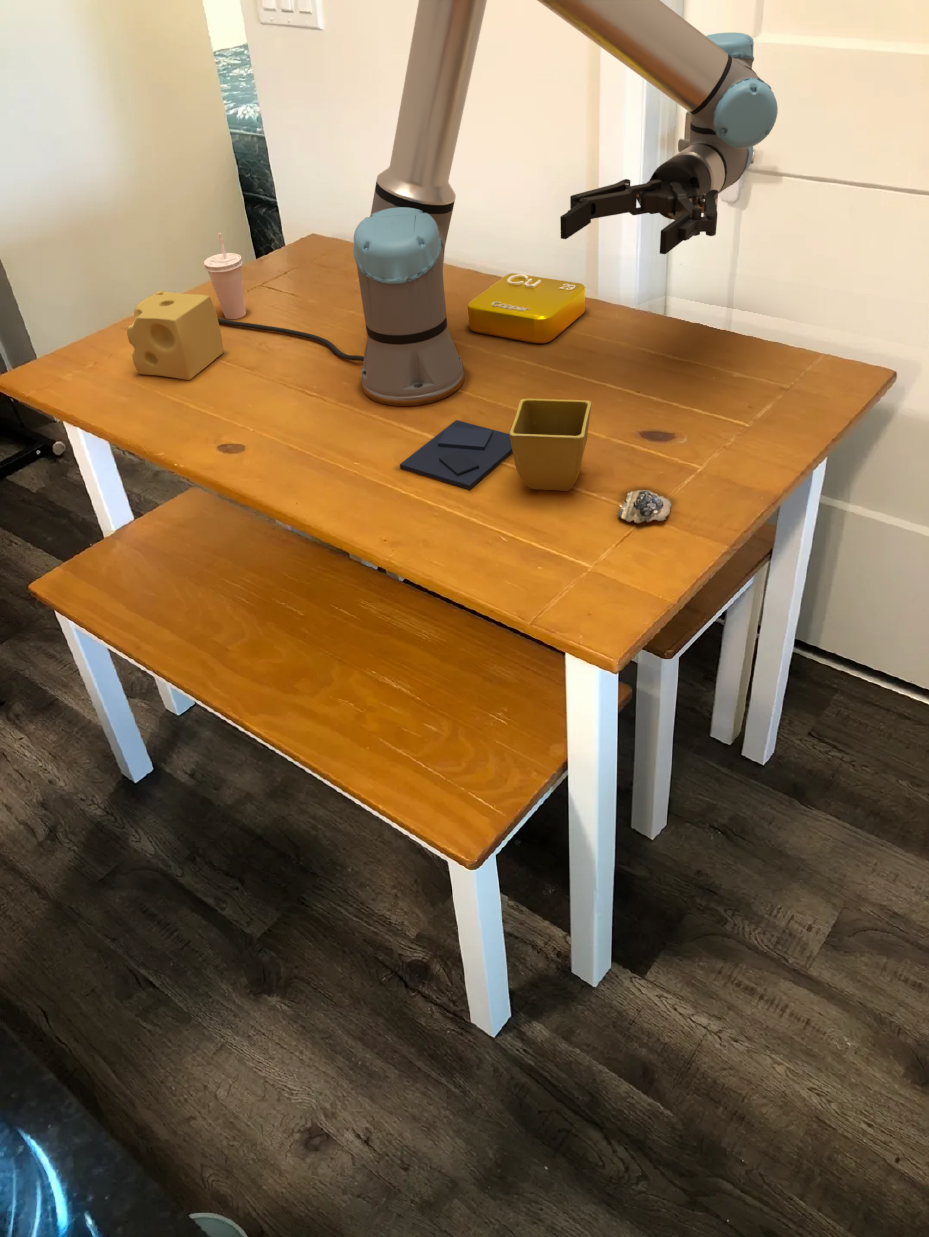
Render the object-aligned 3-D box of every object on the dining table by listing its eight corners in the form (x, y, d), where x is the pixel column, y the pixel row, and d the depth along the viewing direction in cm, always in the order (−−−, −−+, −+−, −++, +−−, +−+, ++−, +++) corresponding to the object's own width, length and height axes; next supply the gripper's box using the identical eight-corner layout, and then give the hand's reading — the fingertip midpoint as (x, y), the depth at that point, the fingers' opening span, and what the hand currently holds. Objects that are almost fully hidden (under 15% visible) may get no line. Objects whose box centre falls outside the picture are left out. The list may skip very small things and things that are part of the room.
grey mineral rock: (620, 530, 114) (620, 516, 113) (609, 492, 120) (609, 479, 119) (678, 525, 114) (679, 511, 113) (664, 487, 120) (665, 474, 119)
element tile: (464, 331, 159) (462, 302, 156) (510, 296, 169) (508, 268, 165) (546, 346, 153) (545, 317, 149) (589, 309, 162) (589, 280, 159)
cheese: (136, 375, 156) (117, 314, 150) (175, 346, 163) (159, 287, 157) (191, 382, 152) (174, 320, 146) (229, 352, 160) (214, 292, 154)
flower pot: (583, 502, 119) (583, 436, 113) (512, 498, 121) (508, 433, 115) (591, 463, 125) (591, 400, 120) (523, 461, 127) (520, 398, 121)
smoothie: (250, 321, 169) (231, 239, 160) (213, 323, 169) (192, 241, 160) (256, 306, 174) (238, 225, 165) (221, 308, 174) (201, 228, 165)
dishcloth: (400, 468, 128) (399, 460, 127) (456, 424, 136) (455, 416, 135) (470, 490, 123) (469, 481, 122) (524, 442, 131) (524, 434, 130)
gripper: (772, 223, 129) (705, 281, 117) (603, 201, 141) (525, 251, 128) (779, 162, 125) (710, 216, 112) (603, 145, 136) (523, 192, 123)
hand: (611, 235), depth 120 cm, fingers open, 13 cm apart
